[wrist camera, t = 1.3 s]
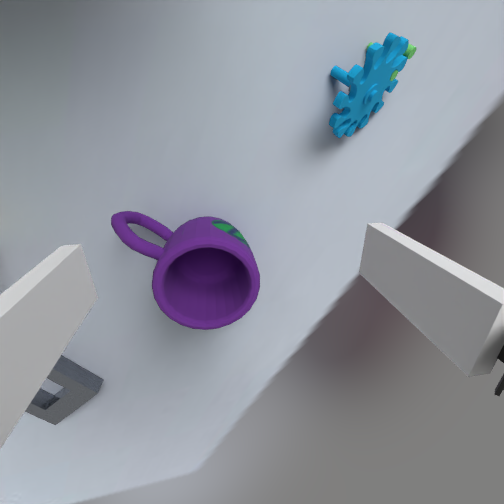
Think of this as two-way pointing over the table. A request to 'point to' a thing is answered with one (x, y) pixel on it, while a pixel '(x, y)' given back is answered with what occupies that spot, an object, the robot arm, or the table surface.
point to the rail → (65, 392)
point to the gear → (368, 83)
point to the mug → (197, 269)
